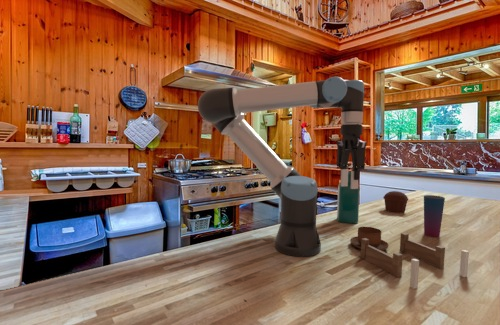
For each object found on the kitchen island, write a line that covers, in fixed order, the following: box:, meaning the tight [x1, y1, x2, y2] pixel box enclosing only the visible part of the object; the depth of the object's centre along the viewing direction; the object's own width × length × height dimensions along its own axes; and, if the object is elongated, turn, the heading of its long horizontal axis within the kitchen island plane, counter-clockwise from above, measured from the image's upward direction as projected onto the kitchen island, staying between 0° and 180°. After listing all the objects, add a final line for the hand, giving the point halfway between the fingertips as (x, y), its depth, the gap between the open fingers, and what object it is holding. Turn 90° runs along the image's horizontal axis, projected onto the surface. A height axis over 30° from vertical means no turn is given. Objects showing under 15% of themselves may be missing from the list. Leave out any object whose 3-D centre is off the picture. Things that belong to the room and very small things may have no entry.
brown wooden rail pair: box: [360, 232, 446, 278], centre depth 85 cm, size 18×14×6 cm
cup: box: [423, 194, 446, 238], centre depth 110 cm, size 7×7×15 cm
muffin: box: [383, 190, 409, 214], centre depth 148 cm, size 12×11×10 cm
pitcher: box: [336, 170, 361, 224], centre depth 128 cm, size 10×8×22 cm
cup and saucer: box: [349, 226, 389, 252], centre depth 97 cm, size 12×12×6 cm
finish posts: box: [409, 249, 470, 290], centre depth 73 cm, size 19×1×7 cm, turn 110°
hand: (349, 187), depth 106 cm, fingers open, 5 cm apart
